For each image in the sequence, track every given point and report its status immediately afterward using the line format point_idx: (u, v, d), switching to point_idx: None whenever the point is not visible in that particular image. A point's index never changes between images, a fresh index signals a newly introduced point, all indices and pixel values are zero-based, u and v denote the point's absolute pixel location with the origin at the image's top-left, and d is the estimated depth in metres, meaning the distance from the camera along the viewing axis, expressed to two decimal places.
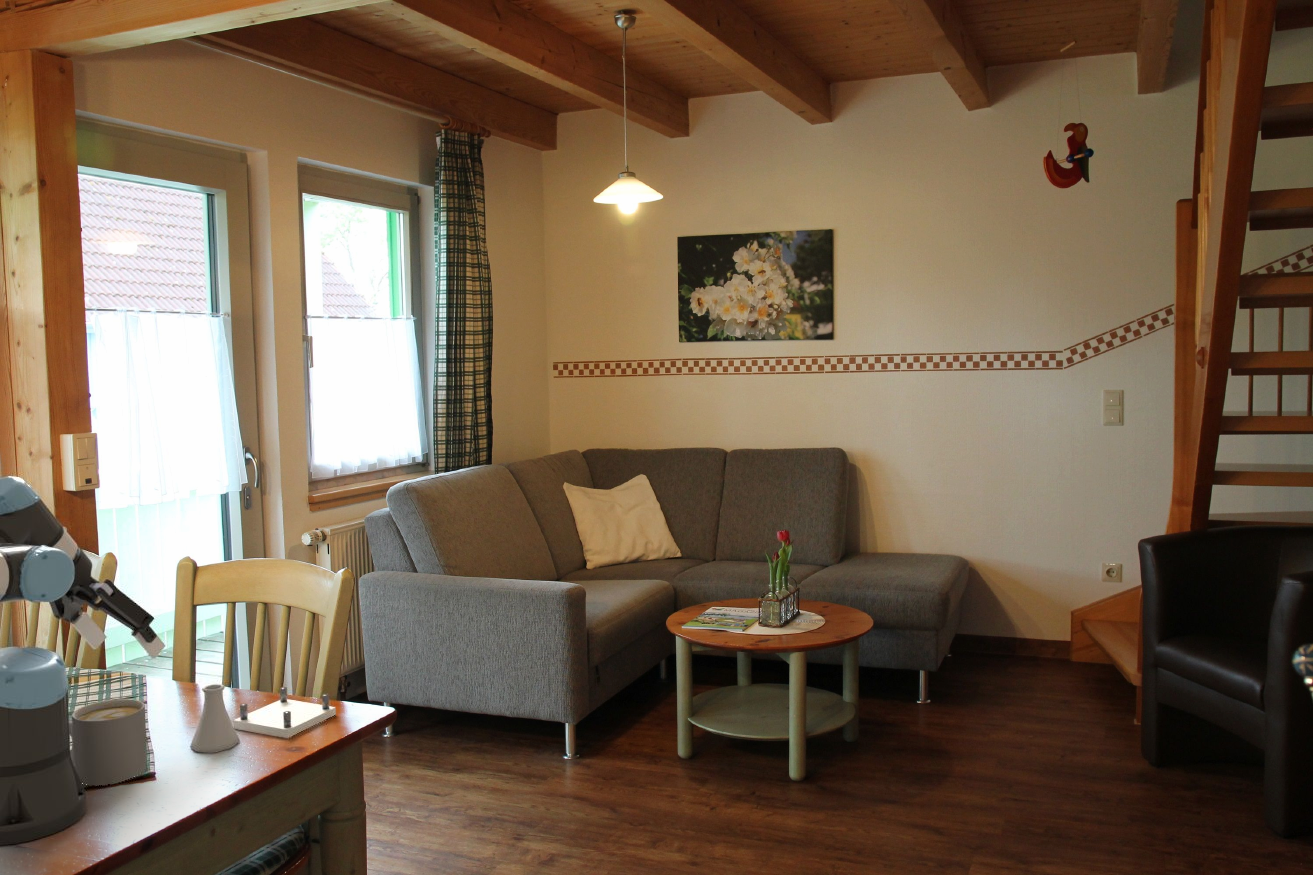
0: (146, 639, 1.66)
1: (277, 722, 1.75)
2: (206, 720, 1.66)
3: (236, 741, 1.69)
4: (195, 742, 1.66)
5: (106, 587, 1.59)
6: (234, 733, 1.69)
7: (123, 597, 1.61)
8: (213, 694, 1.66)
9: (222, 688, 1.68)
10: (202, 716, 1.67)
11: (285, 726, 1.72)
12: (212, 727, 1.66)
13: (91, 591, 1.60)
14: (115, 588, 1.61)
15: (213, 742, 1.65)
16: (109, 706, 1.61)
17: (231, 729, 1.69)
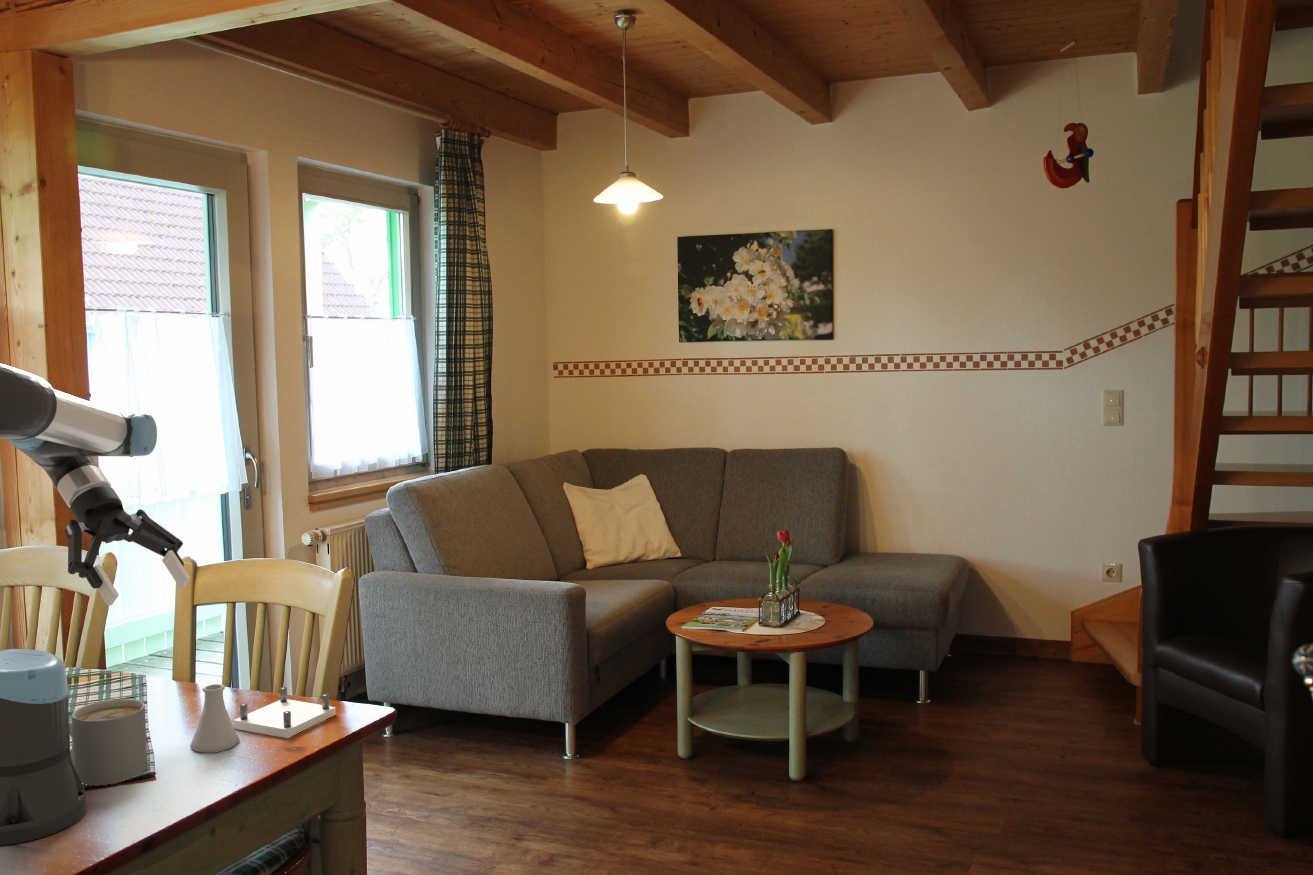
0: None
1: (277, 722, 1.75)
2: (206, 720, 1.66)
3: (236, 741, 1.69)
4: (195, 742, 1.66)
5: None
6: (234, 733, 1.69)
7: None
8: (213, 694, 1.66)
9: (222, 688, 1.68)
10: (202, 716, 1.67)
11: (285, 726, 1.72)
12: (213, 727, 1.66)
13: (130, 516, 1.80)
14: None
15: (213, 742, 1.65)
16: (109, 706, 1.61)
17: (231, 729, 1.68)
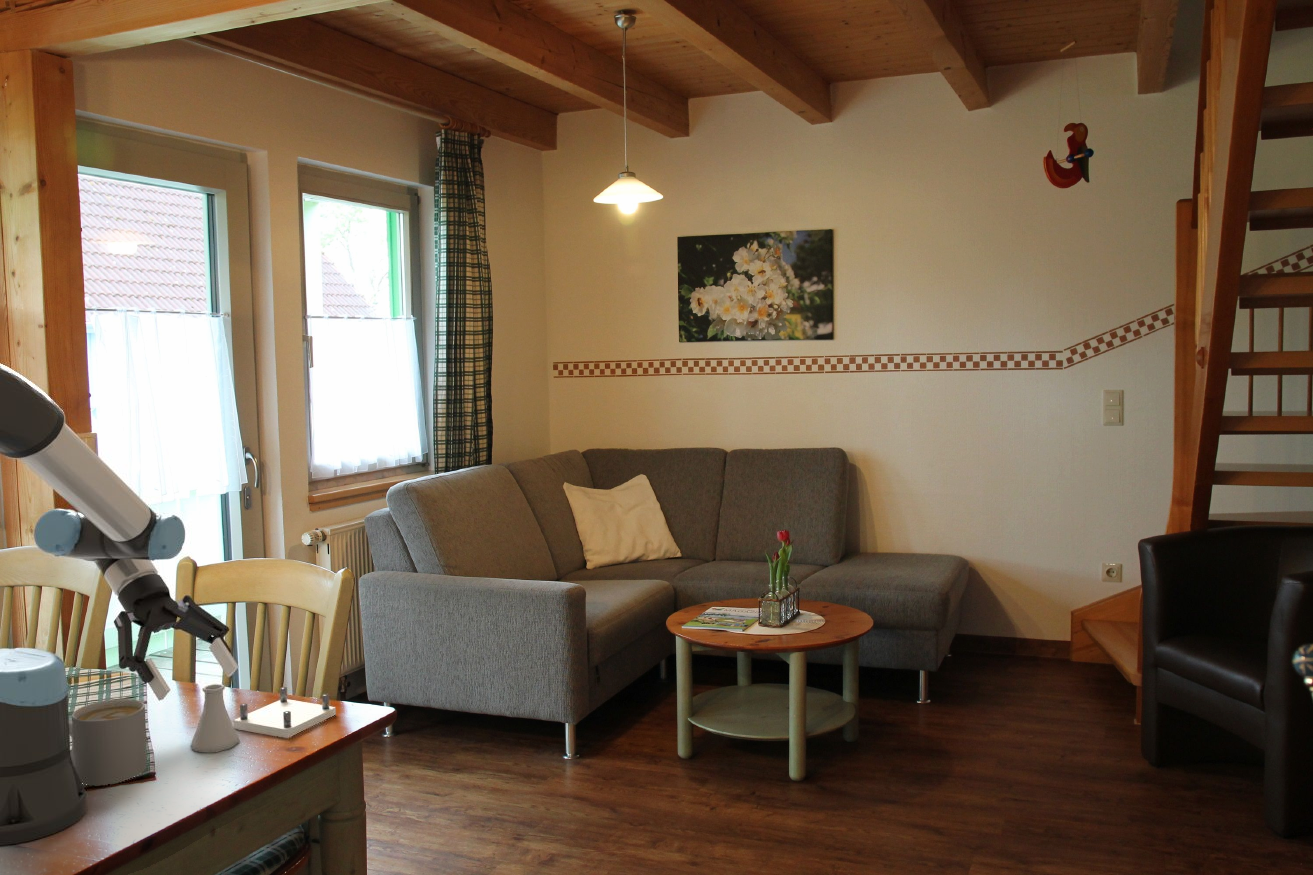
0: (226, 649, 1.79)
1: (277, 722, 1.75)
2: (206, 720, 1.66)
3: (236, 741, 1.69)
4: (195, 742, 1.66)
5: None
6: (234, 733, 1.69)
7: None
8: (213, 694, 1.67)
9: (222, 688, 1.68)
10: (202, 716, 1.67)
11: (285, 726, 1.72)
12: (212, 726, 1.66)
13: (177, 603, 1.79)
14: None
15: (213, 742, 1.65)
16: (109, 706, 1.61)
17: (231, 729, 1.68)
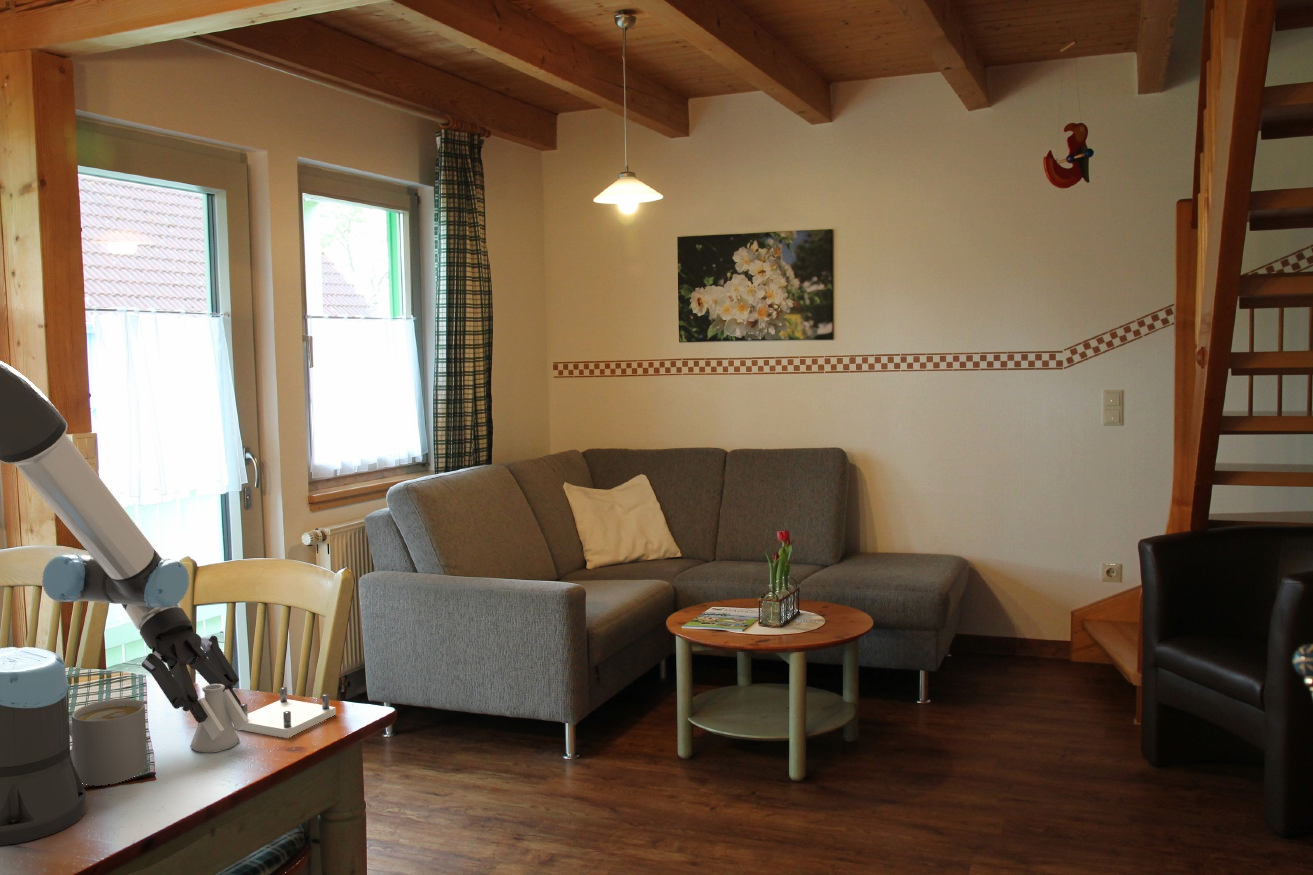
0: None
1: (277, 722, 1.75)
2: None
3: (236, 741, 1.69)
4: (195, 742, 1.66)
5: None
6: (234, 733, 1.69)
7: None
8: (213, 693, 1.66)
9: (222, 688, 1.68)
10: None
11: (285, 726, 1.72)
12: None
13: (200, 639, 1.74)
14: None
15: (213, 741, 1.65)
16: (109, 706, 1.61)
17: (231, 729, 1.68)
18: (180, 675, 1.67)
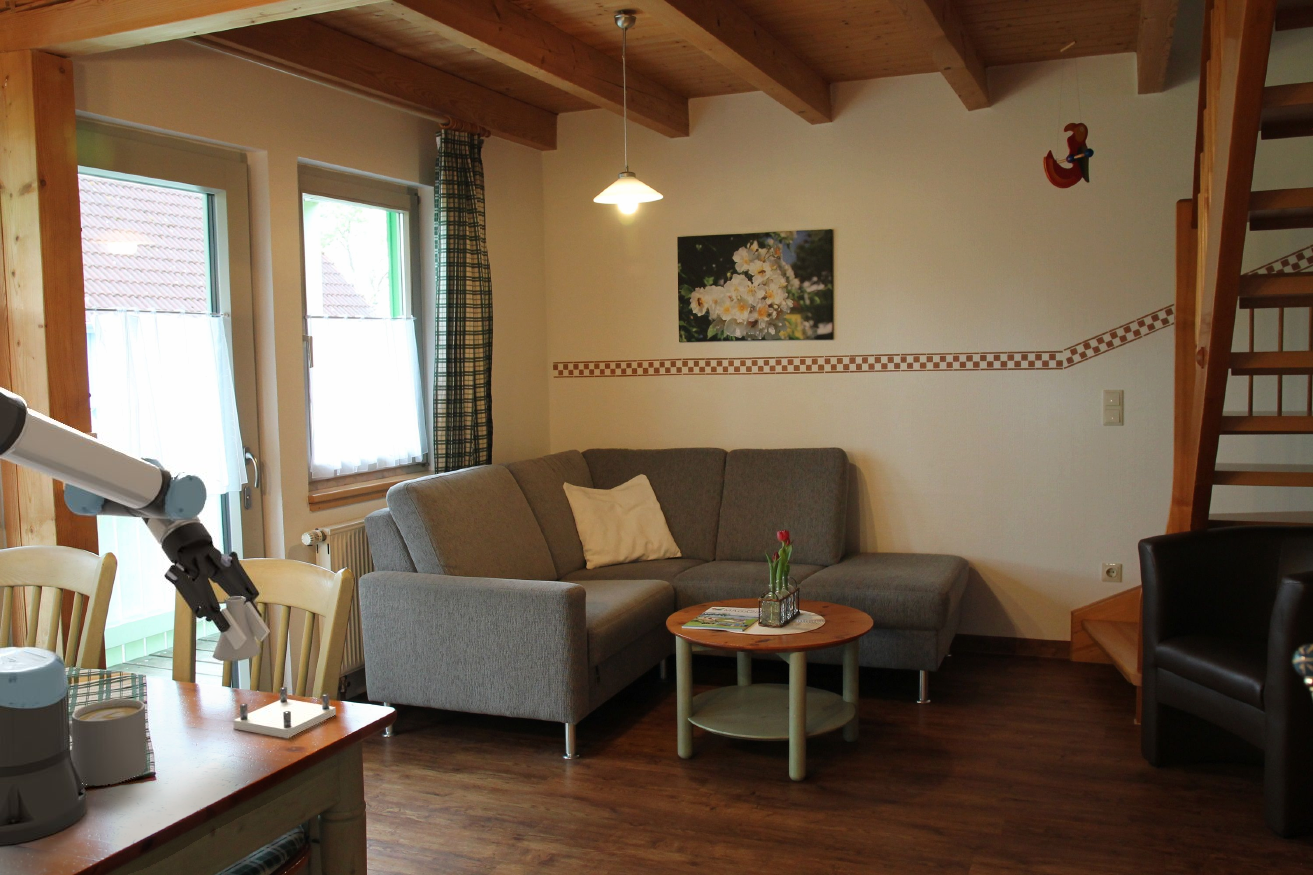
0: None
1: (277, 722, 1.75)
2: None
3: (257, 652, 1.72)
4: (218, 652, 1.69)
5: None
6: (255, 644, 1.72)
7: None
8: (234, 604, 1.69)
9: (243, 599, 1.71)
10: None
11: (285, 726, 1.72)
12: None
13: (221, 554, 1.77)
14: None
15: (235, 651, 1.68)
16: (109, 706, 1.61)
17: (252, 640, 1.72)
18: (202, 587, 1.70)
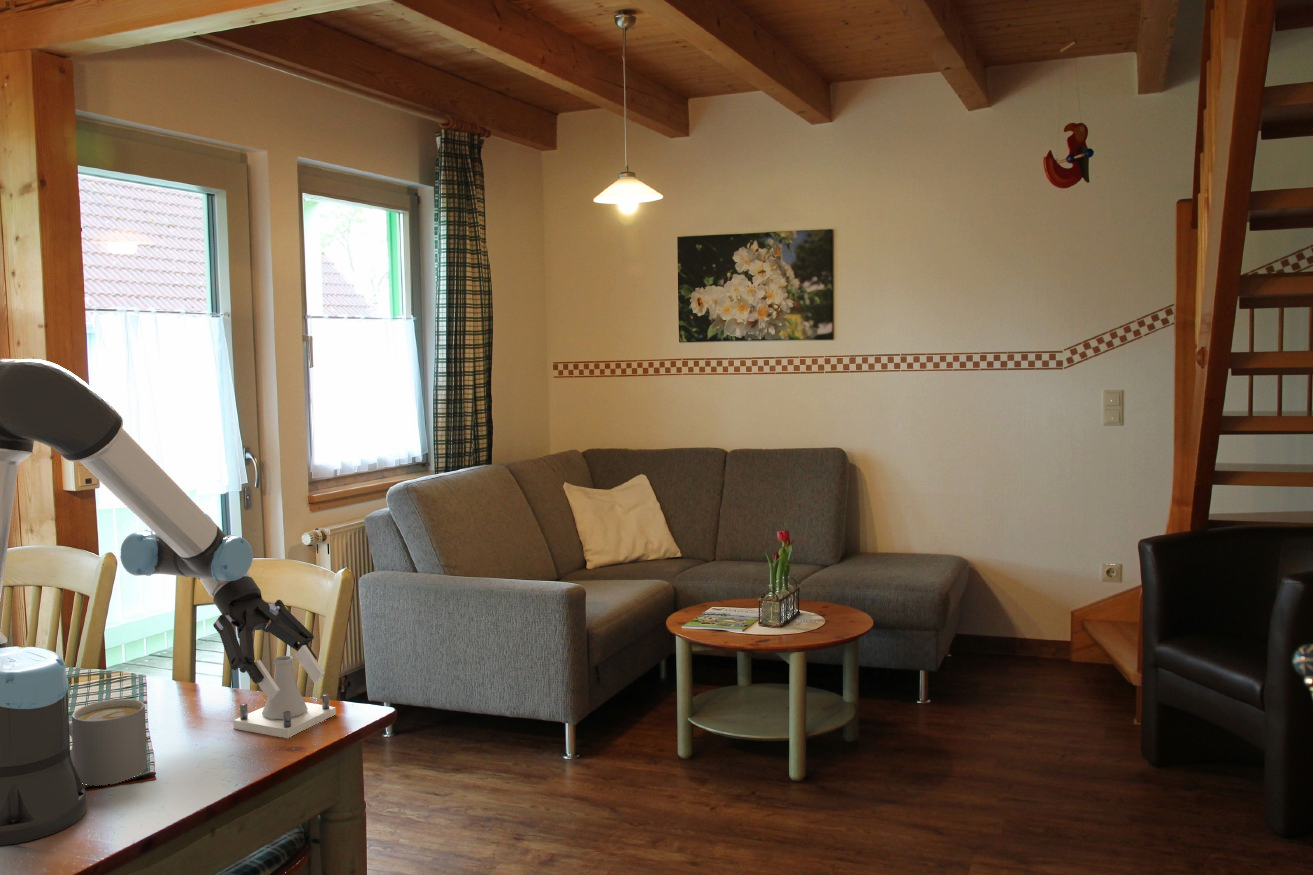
0: None
1: (277, 722, 1.75)
2: None
3: (304, 709, 1.79)
4: (267, 710, 1.77)
5: None
6: (302, 702, 1.80)
7: None
8: (283, 664, 1.77)
9: (291, 659, 1.78)
10: None
11: (285, 726, 1.72)
12: (283, 695, 1.77)
13: (268, 605, 1.85)
14: None
15: (284, 709, 1.76)
16: (109, 706, 1.61)
17: (300, 698, 1.79)
18: (244, 638, 1.76)
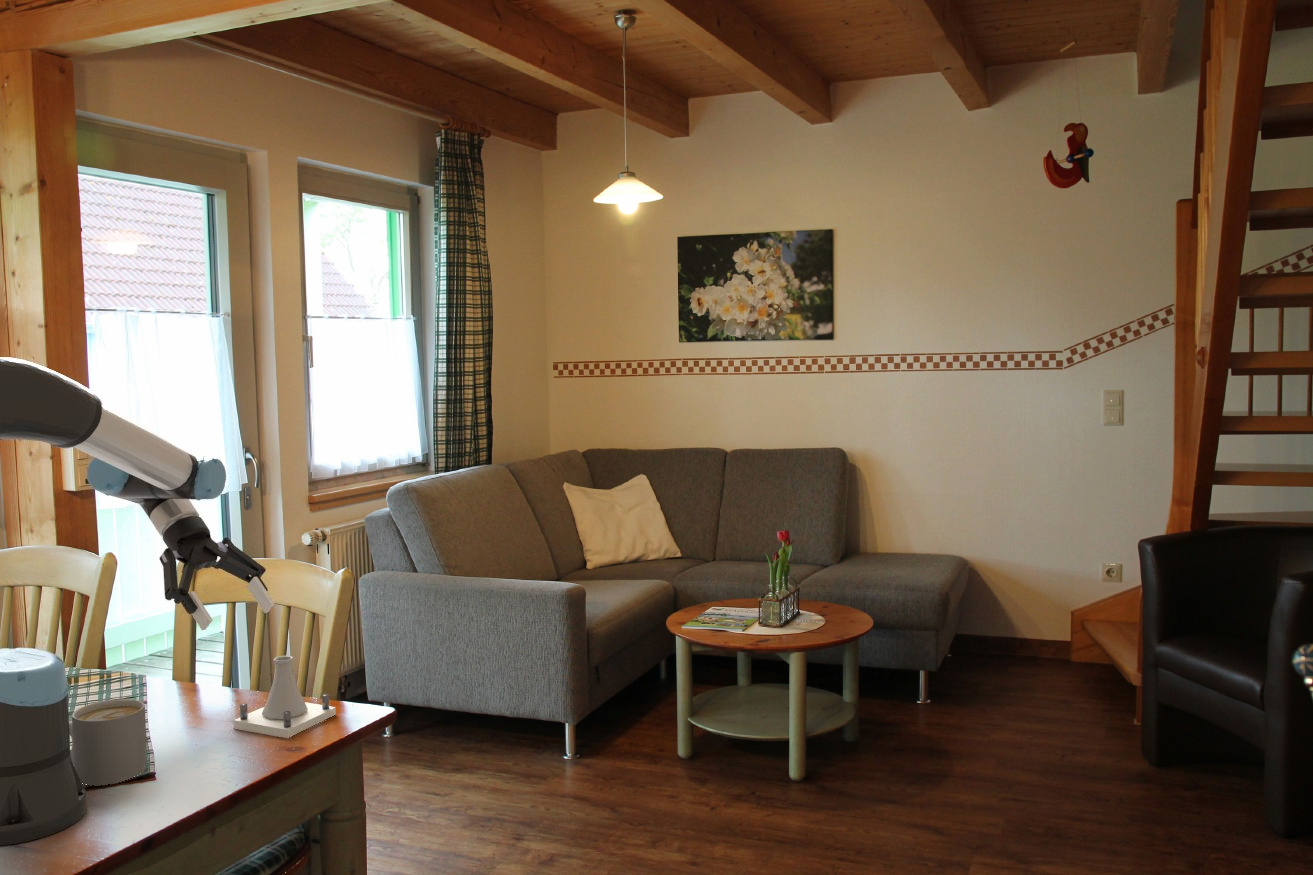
0: (263, 587, 1.90)
1: (277, 722, 1.75)
2: (277, 689, 1.77)
3: (304, 709, 1.79)
4: (267, 710, 1.77)
5: None
6: (302, 702, 1.80)
7: None
8: (283, 664, 1.77)
9: (291, 659, 1.78)
10: (273, 685, 1.78)
11: (285, 726, 1.72)
12: (283, 695, 1.77)
13: (217, 544, 1.90)
14: None
15: (284, 709, 1.76)
16: (109, 706, 1.61)
17: (300, 698, 1.79)
18: (185, 572, 1.81)
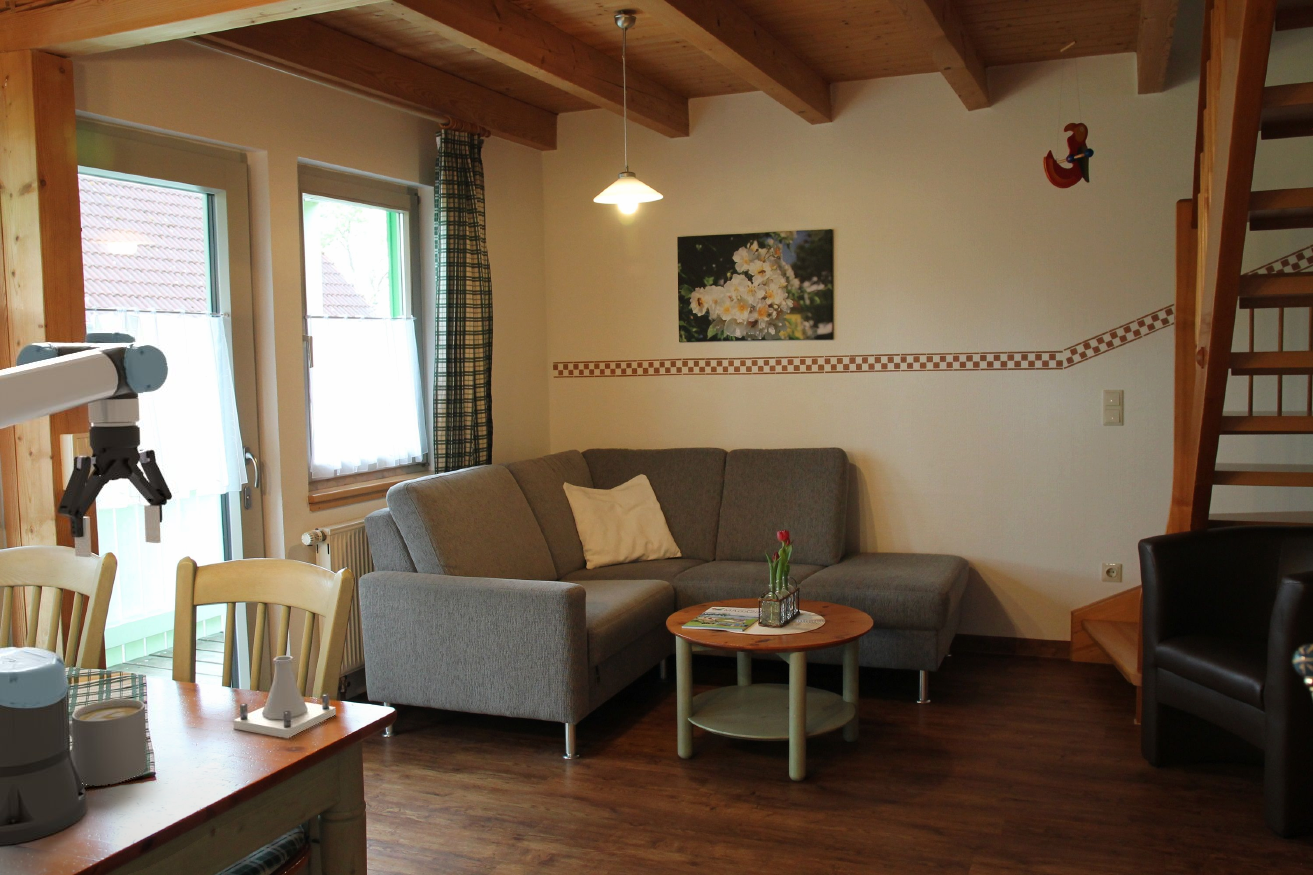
0: None
1: (277, 722, 1.75)
2: (277, 689, 1.77)
3: (304, 709, 1.79)
4: (267, 710, 1.77)
5: None
6: (302, 702, 1.80)
7: None
8: (283, 664, 1.77)
9: (291, 659, 1.78)
10: (273, 685, 1.78)
11: (285, 726, 1.72)
12: (283, 695, 1.77)
13: (139, 456, 1.74)
14: None
15: (284, 709, 1.76)
16: (109, 706, 1.61)
17: (300, 698, 1.79)
18: (92, 487, 1.66)
